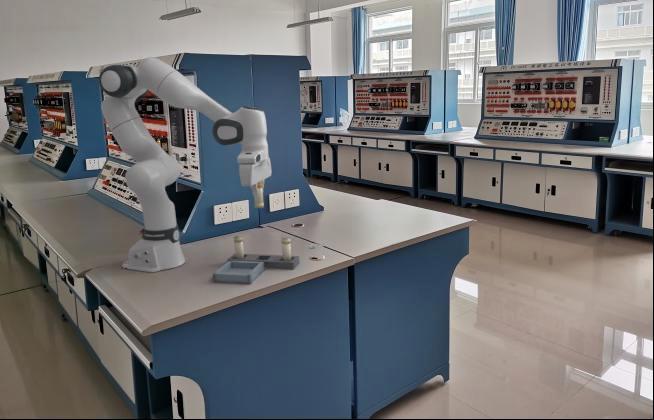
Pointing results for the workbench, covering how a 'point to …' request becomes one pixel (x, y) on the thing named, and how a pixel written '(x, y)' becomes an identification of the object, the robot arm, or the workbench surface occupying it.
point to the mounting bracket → (315, 246)
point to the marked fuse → (259, 197)
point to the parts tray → (239, 272)
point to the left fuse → (239, 247)
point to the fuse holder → (269, 260)
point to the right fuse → (286, 248)
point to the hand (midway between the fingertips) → (258, 194)
